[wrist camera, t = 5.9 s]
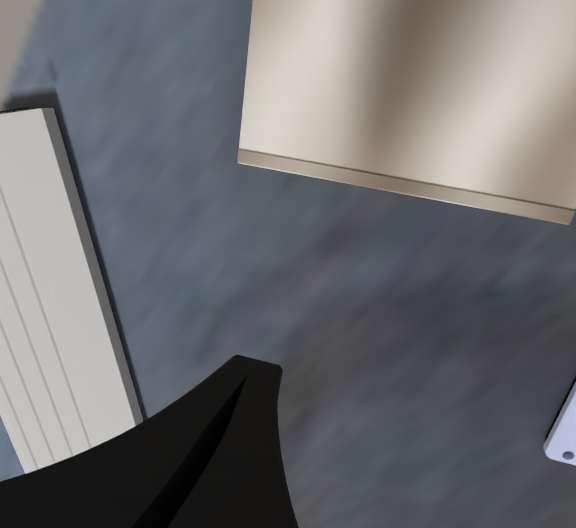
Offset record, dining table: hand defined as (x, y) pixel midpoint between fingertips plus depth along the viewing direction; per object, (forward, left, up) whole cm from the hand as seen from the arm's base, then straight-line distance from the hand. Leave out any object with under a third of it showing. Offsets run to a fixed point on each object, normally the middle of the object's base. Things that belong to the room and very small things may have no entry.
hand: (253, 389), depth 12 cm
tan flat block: (-3, -9, -9) cm, 13 cm away
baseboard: (+15, +11, -10) cm, 21 cm away
